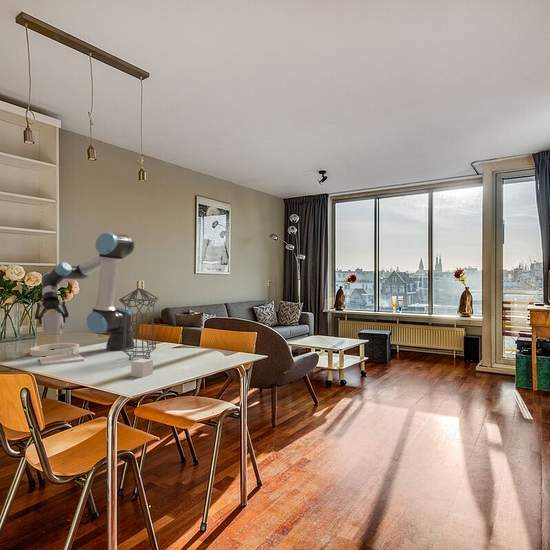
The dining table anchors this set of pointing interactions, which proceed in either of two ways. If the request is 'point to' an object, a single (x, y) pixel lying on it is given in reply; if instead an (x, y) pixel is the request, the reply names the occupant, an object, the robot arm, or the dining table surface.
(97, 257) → the robot arm
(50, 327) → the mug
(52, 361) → the mat
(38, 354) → the white plate
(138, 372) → the pale pink cube
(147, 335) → the geometric lantern
